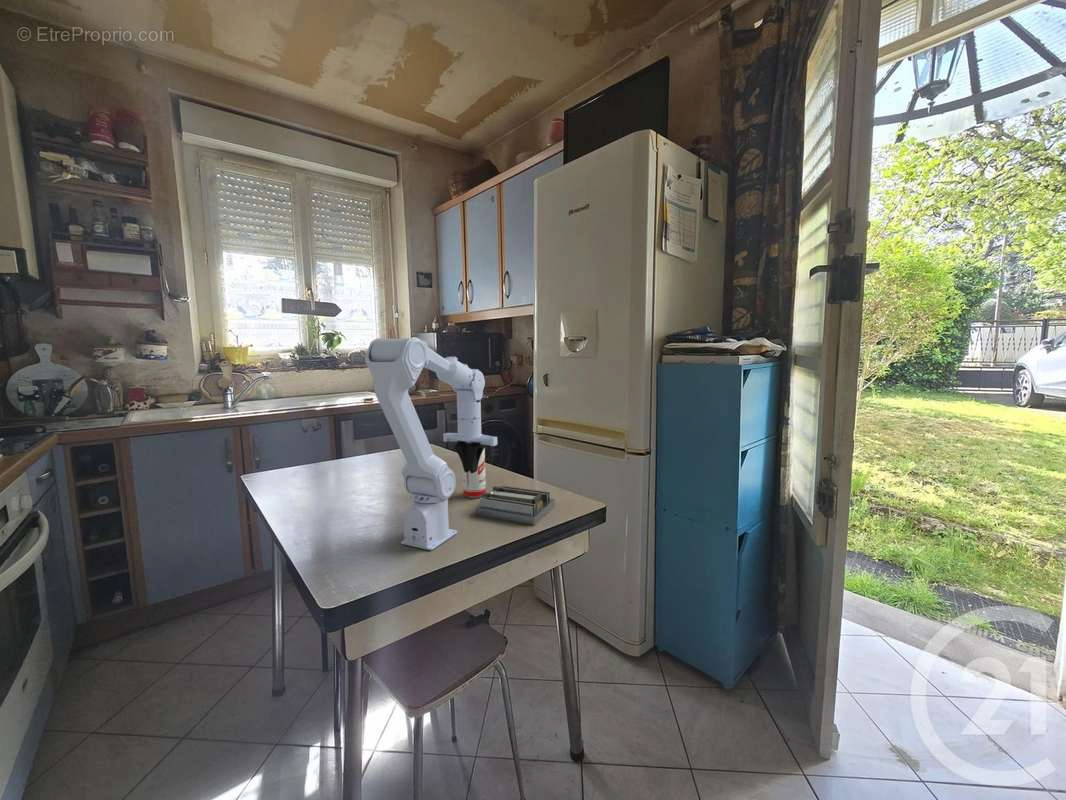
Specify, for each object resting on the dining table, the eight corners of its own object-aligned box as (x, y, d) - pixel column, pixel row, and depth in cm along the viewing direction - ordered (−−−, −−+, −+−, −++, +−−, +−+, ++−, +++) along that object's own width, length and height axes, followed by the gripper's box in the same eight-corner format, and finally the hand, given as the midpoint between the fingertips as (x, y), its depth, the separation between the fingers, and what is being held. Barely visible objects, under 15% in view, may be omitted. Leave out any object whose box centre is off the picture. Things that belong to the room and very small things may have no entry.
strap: (530, 503, 104) (530, 499, 104) (486, 497, 109) (486, 494, 109) (537, 498, 108) (537, 495, 107) (493, 493, 113) (493, 489, 113)
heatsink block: (534, 525, 99) (534, 506, 99) (475, 515, 106) (474, 497, 105) (554, 506, 111) (554, 489, 110) (500, 498, 117) (500, 482, 117)
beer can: (487, 491, 123) (486, 437, 121) (483, 499, 117) (481, 441, 115) (466, 491, 124) (464, 437, 122) (460, 498, 117) (459, 441, 116)
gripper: (503, 417, 106) (503, 470, 107) (453, 414, 112) (455, 464, 113) (488, 421, 99) (489, 478, 101) (437, 418, 105) (439, 471, 107)
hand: (470, 471), depth 107 cm, fingers closed
